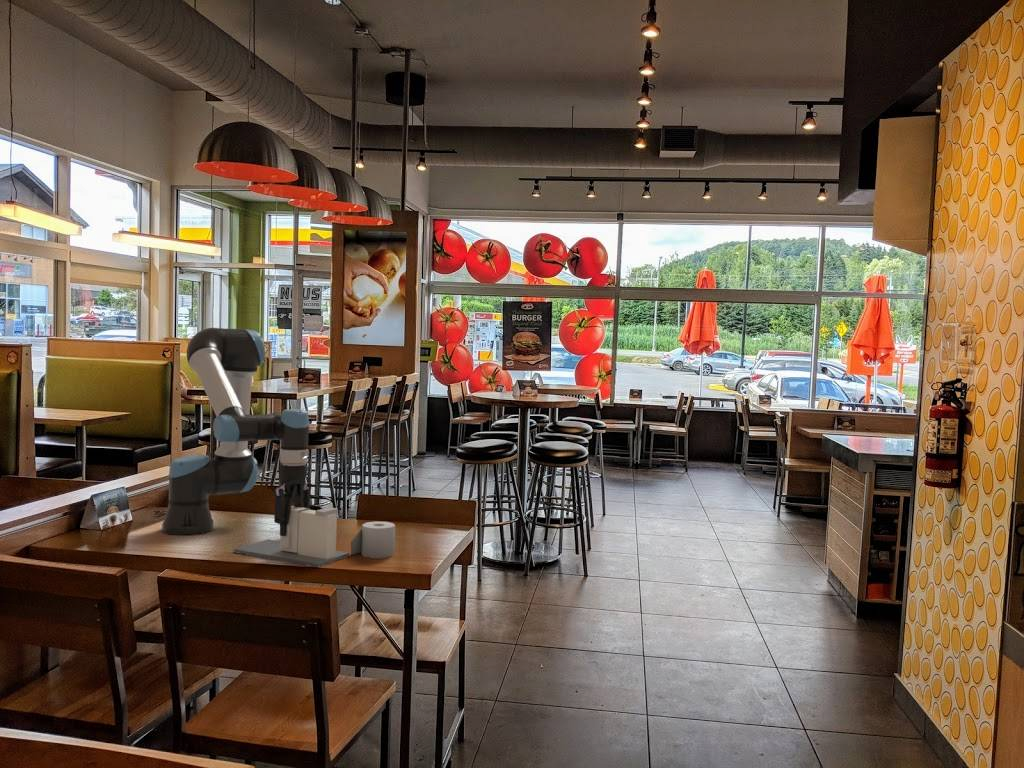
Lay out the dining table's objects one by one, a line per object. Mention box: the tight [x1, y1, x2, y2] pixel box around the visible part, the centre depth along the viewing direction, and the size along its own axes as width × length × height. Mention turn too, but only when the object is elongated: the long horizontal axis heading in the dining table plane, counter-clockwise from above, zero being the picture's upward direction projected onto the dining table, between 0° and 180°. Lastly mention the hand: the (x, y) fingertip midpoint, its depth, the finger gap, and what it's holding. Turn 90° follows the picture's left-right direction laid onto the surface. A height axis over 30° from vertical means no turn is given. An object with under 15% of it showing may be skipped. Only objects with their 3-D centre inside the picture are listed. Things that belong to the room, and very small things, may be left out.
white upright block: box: [279, 505, 307, 553], centre depth 219 cm, size 6×4×12 cm
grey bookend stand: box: [233, 507, 351, 568], centre depth 219 cm, size 30×14×14 cm, turn 65°
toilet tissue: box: [350, 520, 396, 559], centre depth 222 cm, size 9×13×9 cm
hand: (291, 544), depth 220 cm, fingers open, 5 cm apart
